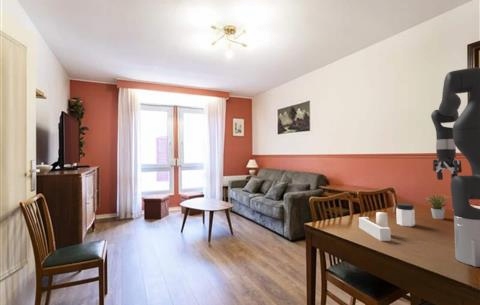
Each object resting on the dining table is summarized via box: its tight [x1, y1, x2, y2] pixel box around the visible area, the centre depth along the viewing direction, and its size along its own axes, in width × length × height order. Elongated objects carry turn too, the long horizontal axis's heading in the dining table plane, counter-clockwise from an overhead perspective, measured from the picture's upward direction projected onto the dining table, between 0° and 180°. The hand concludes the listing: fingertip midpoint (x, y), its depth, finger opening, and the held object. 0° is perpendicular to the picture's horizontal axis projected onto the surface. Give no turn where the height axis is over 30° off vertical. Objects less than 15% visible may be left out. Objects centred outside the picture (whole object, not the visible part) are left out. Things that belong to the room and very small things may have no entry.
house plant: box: [425, 192, 451, 220], centre depth 155 cm, size 14×14×16 cm
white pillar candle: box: [375, 211, 389, 227], centre depth 128 cm, size 5×5×11 cm
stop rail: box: [358, 216, 392, 242], centre depth 129 cm, size 22×5×6 cm, turn 179°
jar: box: [395, 202, 416, 228], centre depth 144 cm, size 9×8×12 cm
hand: (447, 180), depth 122 cm, fingers open, 8 cm apart
